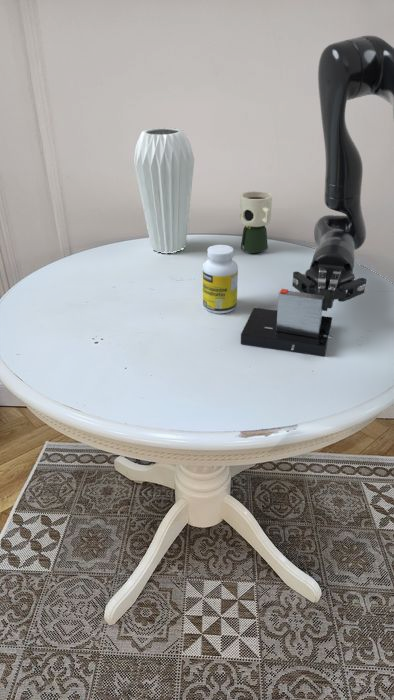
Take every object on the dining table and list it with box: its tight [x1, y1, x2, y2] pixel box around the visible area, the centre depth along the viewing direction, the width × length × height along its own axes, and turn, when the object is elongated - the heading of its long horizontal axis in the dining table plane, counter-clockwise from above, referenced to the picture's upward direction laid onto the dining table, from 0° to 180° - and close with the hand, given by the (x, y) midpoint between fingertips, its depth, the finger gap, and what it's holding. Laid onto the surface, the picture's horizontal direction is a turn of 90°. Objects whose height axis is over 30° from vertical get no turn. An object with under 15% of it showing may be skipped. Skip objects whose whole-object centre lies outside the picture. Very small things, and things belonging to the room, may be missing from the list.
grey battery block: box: [276, 288, 324, 338], centre depth 87 cm, size 7×2×7 cm, turn 69°
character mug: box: [239, 190, 273, 254], centre depth 122 cm, size 11×7×13 cm, turn 26°
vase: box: [133, 127, 195, 253], centre depth 120 cm, size 13×13×26 cm
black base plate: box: [240, 306, 333, 357], centre depth 90 cm, size 15×13×2 cm
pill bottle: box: [202, 244, 239, 314], centre depth 98 cm, size 6×6×12 cm
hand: (323, 305), depth 85 cm, fingers closed
